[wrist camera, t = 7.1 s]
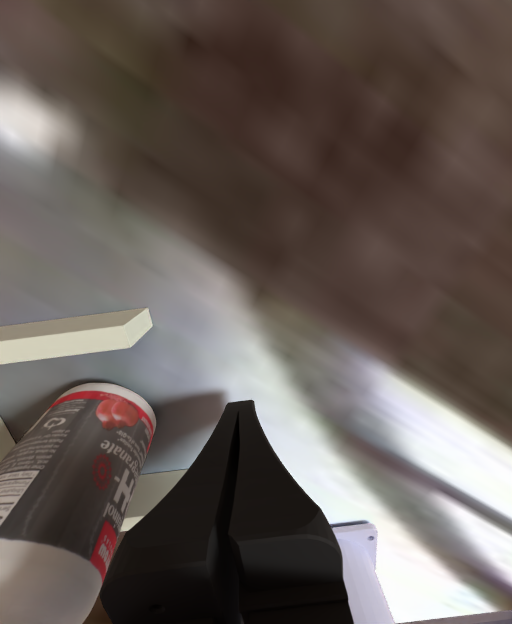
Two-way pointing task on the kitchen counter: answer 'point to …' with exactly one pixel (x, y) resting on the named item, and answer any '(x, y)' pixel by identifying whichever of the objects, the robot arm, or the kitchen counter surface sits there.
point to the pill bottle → (68, 502)
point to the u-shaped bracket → (79, 340)
